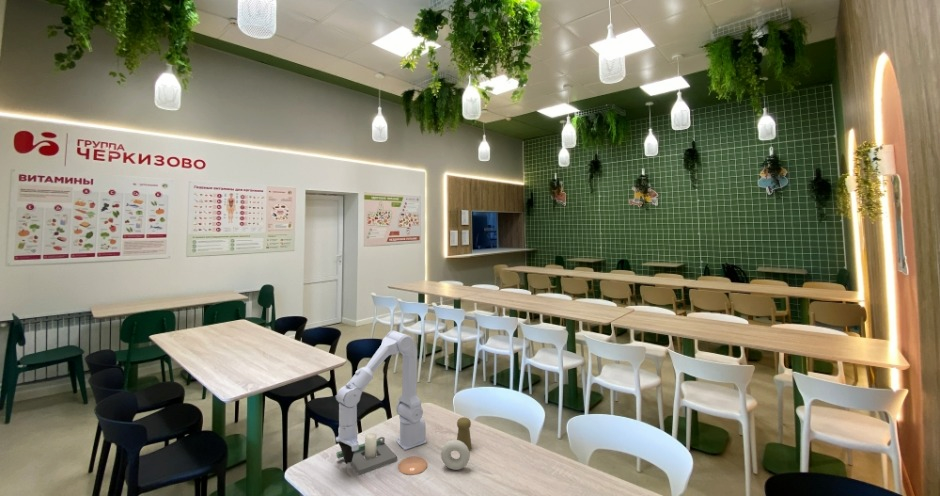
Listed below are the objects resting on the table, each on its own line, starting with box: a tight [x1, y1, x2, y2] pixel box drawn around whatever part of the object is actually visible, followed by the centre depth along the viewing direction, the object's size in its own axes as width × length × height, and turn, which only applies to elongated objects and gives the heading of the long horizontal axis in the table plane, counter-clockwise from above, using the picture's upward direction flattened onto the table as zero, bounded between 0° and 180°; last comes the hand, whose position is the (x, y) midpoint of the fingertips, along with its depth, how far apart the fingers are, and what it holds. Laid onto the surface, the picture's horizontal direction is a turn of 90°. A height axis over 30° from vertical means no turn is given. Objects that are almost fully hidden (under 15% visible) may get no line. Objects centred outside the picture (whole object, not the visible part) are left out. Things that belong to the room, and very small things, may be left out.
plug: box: [364, 433, 378, 460], centre depth 138 cm, size 4×4×8 cm
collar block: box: [349, 443, 398, 476], centre depth 138 cm, size 14×14×2 cm
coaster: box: [397, 456, 428, 476], centre depth 134 cm, size 10×10×1 cm
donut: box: [440, 439, 471, 471], centre depth 132 cm, size 10×4×10 cm, turn 82°
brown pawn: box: [456, 416, 473, 452], centre depth 145 cm, size 6×6×11 cm
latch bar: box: [336, 436, 386, 459], centre depth 141 cm, size 18×2×2 cm, turn 126°
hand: (348, 461), depth 131 cm, fingers closed
